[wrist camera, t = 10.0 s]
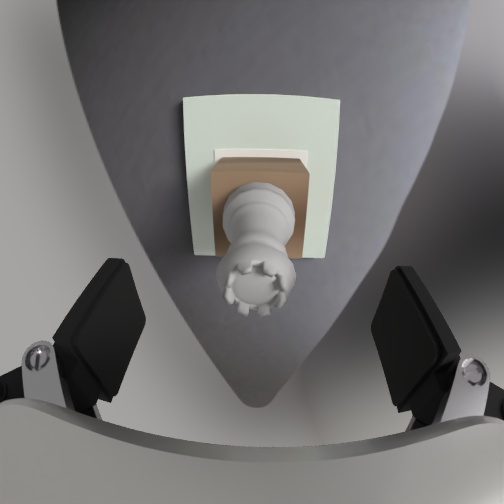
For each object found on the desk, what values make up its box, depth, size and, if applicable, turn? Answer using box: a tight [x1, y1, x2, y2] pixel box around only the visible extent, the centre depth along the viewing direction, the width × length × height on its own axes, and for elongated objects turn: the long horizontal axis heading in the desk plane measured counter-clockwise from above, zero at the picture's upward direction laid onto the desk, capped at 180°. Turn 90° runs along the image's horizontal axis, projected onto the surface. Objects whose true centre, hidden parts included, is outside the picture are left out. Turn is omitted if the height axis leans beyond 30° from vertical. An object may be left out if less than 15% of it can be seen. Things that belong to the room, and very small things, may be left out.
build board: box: [183, 94, 340, 258], centre depth 22 cm, size 14×12×1 cm
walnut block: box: [210, 157, 310, 259], centre depth 19 cm, size 6×6×5 cm
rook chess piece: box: [217, 182, 296, 318], centre depth 14 cm, size 4×4×8 cm
